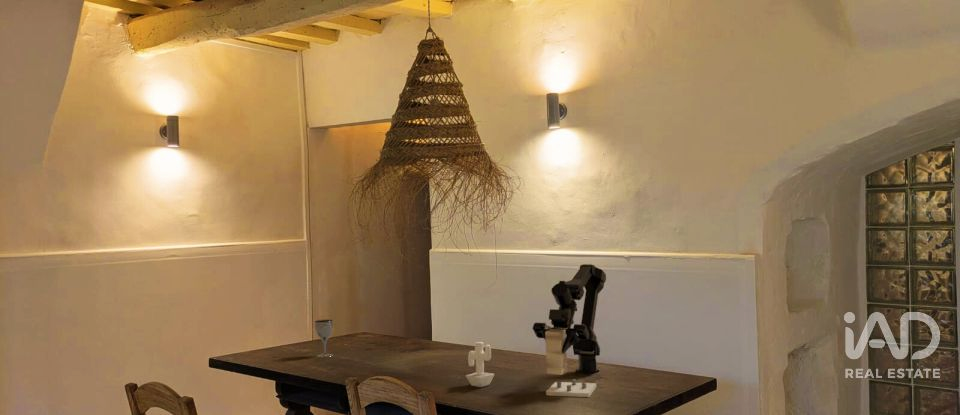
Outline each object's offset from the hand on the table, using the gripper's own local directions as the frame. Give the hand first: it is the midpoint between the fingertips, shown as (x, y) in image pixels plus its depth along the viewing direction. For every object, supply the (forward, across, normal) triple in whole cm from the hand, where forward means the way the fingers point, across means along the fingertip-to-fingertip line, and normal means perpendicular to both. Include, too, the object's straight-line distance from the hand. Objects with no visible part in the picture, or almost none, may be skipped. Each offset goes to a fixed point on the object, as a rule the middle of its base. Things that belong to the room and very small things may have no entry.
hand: (554, 352), depth 267 cm
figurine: (+10, -28, +9) cm, 31 cm away
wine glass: (-9, -116, +28) cm, 120 cm away
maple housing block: (+4, 0, +6) cm, 7 cm away
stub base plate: (+8, +5, +10) cm, 14 cm away
